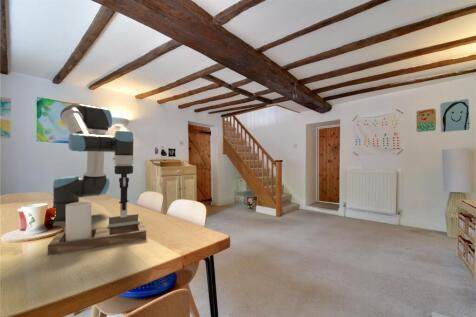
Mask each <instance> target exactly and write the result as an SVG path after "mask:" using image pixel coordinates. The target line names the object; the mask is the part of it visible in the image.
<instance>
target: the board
mask: <svg viewBox="0 0 476 317" xmlns="http://www.w3.org/2000/svg"><path fill="white" fill-rule="evenodd" d="M143 240H147V229H146V227H145V224H144V222H143V221H142V222H141V221H140V223H139V224H132V225H124V226H116V227H109V228H107V226H101V227H94V228H91V238H86V239H80V240H73V241H66V231H64V232H57V233H56V234H55V236H54V237H53V238H52V240H51V241H50V242H49V243H48V245H47V256H52V255H59V254H65V253H70V252H77V251H83V250H88V249H94V248H96V249H97V248H100V247H102V248H103V247H106V246H113V245H119V244H126V243H130V242H137V241H138V242H139V241H143Z"/></svg>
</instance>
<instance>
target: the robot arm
mask: <svg viewBox="0 0 476 317" xmlns="http://www.w3.org/2000/svg"><path fill="white" fill-rule="evenodd" d="M59 117H60V119H61V122H62V123H63V124H64V125H65V126H66V128H67V130H68V132H69V135H68V137H67V138H68V139H67V141H68V142H67V143H68V149H69V151H73V152H81V153H82V152H87V154H86V155H87V156H86V157H87V158H86V160H87V161H86V172H85V173H83V177H80V176H79V175H78V174H77V175H66V176H62V177H61V176H60V177H57V178H55V179H54V180H53V183H52V184H53V185H52V192H53V193H52V202H53V203H52V206H51V209H52V208H56V217H55V218H54V221H53V222H57V221H58V222H59V221H61V222H62V221H66V205H67V204H70V203H76V202H80V198H87V197H99V196H103V195H106V194H107V193H108V191H109V189H110V178H109V176H107V174H106V172H105V171H104V169H105V168H104V166H105V164H104V163H105V152H106V153H108V152H109V153H114V157H113V158H112V160H113V161H114V174H115V175H120V177H119V178H118V182H119V189H120V198H119V200H120V201H119V202H118V203H119V204H120V207H119V208H120V213H119V214H120V215H119V216H120V218H122V217H127V215H128V202H129V199H128V188H129V182H130V178H129V177H128V175H131V174H134V166H133V165H134V140H135V139H134V133H133V131H130V130H115V132H114V135H106V133H107V132H108V131H109V129H110V128H112V125H113V115H112V113H111V111H110V109H108V108H107V107H102V106H94V105H89V104H88V105H87V104H83V103H74V104H70V105H67V106H65V107H63V109H62V110H61V112H60V116H59Z"/></svg>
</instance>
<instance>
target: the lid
mask: <svg viewBox="0 0 476 317" xmlns="http://www.w3.org/2000/svg"><path fill="white" fill-rule="evenodd" d="M139 218H140V217H139V213H133V214H132V213H131V214H127V217H122V218H120V215H115V216H108V218H107V225H106V227H107V228H109V227H116V226H124V225H132V224H139V223H140V222H141V221H140V219H139Z"/></svg>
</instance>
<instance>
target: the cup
mask: <svg viewBox="0 0 476 317" xmlns="http://www.w3.org/2000/svg"><path fill="white" fill-rule="evenodd" d="M91 229H92V202H91V201H79V202H76V203H70V204H67V205H66V220H65V232H66V241H73V240H80V239H86V238H91Z"/></svg>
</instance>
